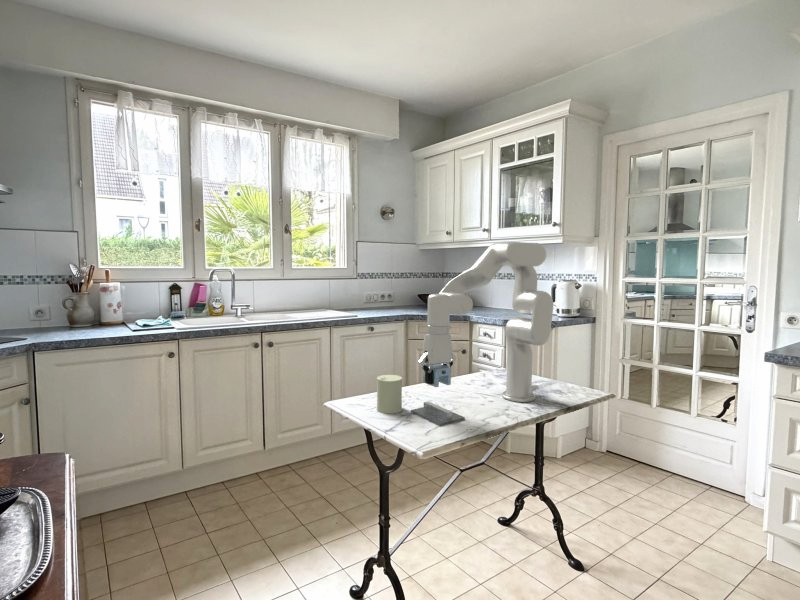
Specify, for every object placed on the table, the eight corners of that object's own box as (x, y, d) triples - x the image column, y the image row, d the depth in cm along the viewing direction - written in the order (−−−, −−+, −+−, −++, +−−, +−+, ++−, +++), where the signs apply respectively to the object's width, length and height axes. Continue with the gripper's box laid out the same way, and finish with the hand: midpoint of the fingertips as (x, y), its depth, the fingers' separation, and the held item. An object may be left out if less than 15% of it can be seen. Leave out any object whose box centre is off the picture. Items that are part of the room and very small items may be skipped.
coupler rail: (435, 406, 165) (435, 398, 165) (464, 419, 152) (464, 410, 151) (410, 412, 159) (410, 403, 158) (439, 426, 146) (439, 416, 145)
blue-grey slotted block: (437, 380, 159) (438, 363, 158) (451, 384, 153) (451, 367, 152) (423, 382, 155) (423, 365, 155) (436, 387, 149) (437, 369, 149)
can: (371, 407, 163) (371, 375, 162) (392, 403, 168) (392, 372, 167) (385, 415, 156) (385, 381, 155) (407, 410, 161) (407, 377, 160)
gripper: (450, 327, 161) (449, 376, 162) (410, 330, 151) (410, 383, 152) (464, 330, 154) (463, 381, 156) (424, 333, 145) (423, 388, 146)
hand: (436, 381), depth 154 cm, fingers closed on blue-grey slotted block, 6 cm apart
